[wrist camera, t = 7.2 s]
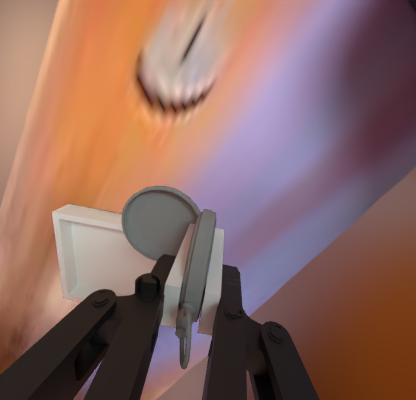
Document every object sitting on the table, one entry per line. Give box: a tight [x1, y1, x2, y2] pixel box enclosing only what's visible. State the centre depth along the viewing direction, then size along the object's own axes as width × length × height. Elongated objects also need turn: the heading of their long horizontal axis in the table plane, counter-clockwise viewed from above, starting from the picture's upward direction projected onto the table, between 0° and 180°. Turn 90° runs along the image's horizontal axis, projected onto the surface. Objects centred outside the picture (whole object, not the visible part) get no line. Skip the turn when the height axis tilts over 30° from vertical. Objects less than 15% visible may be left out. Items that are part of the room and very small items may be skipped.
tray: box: [52, 204, 157, 302], centre depth 36 cm, size 18×18×4 cm
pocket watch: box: [121, 186, 216, 369], centre depth 12 cm, size 8×8×10 cm
